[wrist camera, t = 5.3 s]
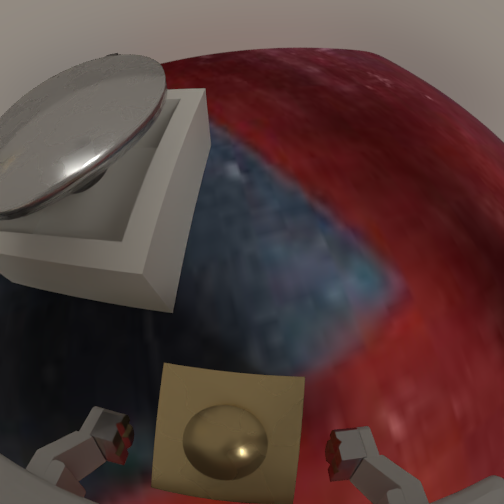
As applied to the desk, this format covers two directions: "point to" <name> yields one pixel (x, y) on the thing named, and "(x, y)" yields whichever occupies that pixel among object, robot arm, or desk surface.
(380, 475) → the robot arm
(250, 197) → the desk surface
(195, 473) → the brass weight
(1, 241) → the base
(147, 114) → the scale pan
